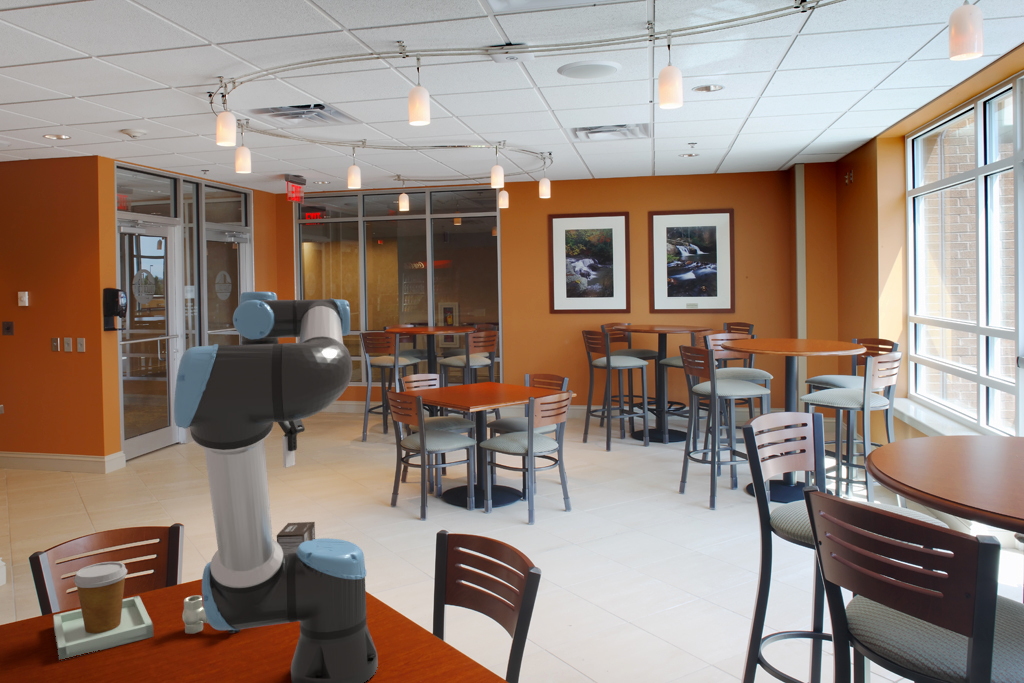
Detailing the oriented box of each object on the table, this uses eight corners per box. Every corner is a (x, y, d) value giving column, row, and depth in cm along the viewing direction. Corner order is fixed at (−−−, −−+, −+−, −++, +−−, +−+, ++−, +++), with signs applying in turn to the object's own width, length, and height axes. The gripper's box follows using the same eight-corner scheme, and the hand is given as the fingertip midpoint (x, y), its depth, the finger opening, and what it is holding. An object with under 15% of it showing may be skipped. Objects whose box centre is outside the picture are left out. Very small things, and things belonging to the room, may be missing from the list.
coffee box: (290, 589, 164) (287, 521, 163) (317, 588, 164) (315, 521, 163) (278, 606, 155) (275, 534, 154) (307, 605, 155) (305, 533, 154)
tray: (153, 636, 141) (152, 624, 141) (59, 661, 132) (58, 648, 132) (139, 606, 156) (139, 595, 156) (53, 626, 146) (53, 615, 146)
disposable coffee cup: (139, 618, 148) (137, 562, 147) (105, 639, 138) (103, 579, 138) (100, 615, 149) (98, 559, 149) (64, 635, 140) (61, 576, 139)
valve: (175, 637, 141) (230, 639, 139) (173, 605, 141) (229, 607, 139) (194, 622, 148) (247, 624, 146) (192, 591, 147) (246, 593, 146)
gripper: (319, 364, 147) (322, 464, 148) (230, 362, 157) (234, 456, 158) (295, 367, 140) (298, 472, 141) (203, 365, 150) (207, 463, 151)
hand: (264, 464), depth 149 cm, fingers open, 13 cm apart
